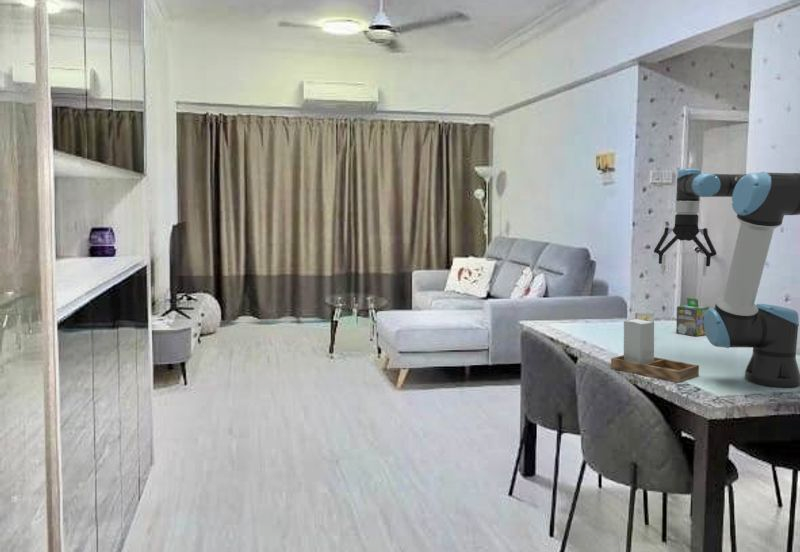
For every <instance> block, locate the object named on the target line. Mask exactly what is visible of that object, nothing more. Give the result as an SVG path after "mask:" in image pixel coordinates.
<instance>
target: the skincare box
mask: <svg viewBox="0 0 800 552" xmlns="http://www.w3.org/2000/svg"><path fill="white" fill-rule="evenodd" d="M623 355H624V360H626V361H631V362H636V363H641V364H646V363H650V362H653V361H654V357H655V322H651V321H644V320H639V319H635V318H633V319H627V320H626V319H625V320H623Z"/></svg>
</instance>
